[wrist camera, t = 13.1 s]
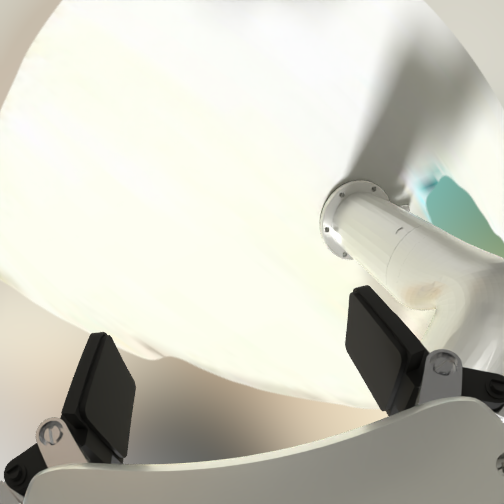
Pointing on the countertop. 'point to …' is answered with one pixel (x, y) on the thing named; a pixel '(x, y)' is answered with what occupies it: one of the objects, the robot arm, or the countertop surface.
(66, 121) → the countertop surface
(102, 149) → the countertop surface
